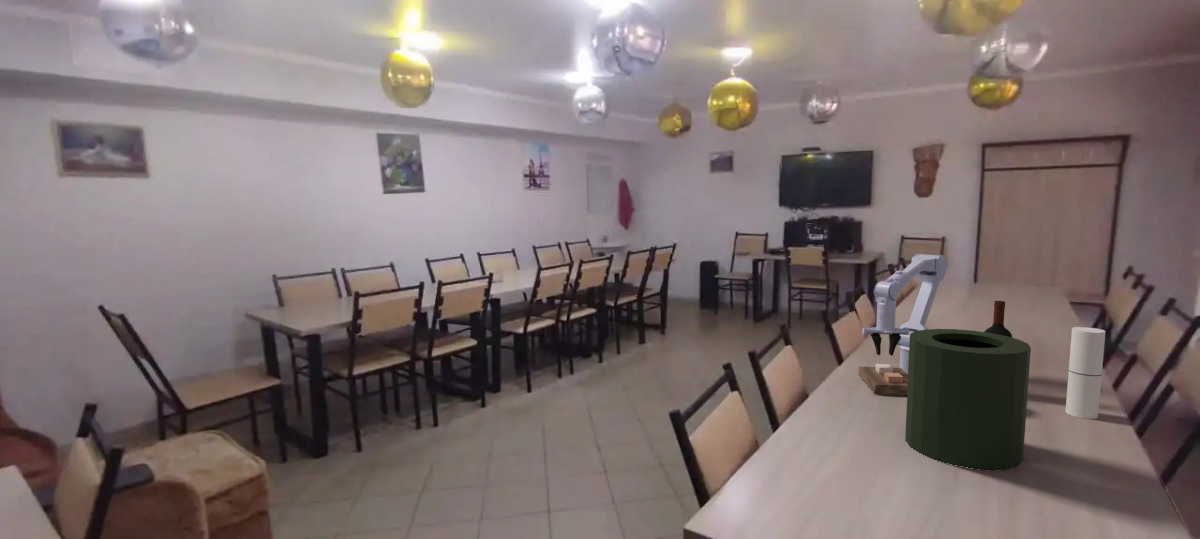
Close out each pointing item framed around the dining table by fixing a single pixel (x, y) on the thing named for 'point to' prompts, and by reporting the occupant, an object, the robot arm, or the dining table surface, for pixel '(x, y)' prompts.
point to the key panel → (883, 381)
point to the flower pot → (967, 397)
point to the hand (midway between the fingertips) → (884, 354)
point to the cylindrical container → (1085, 372)
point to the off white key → (883, 368)
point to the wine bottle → (999, 320)
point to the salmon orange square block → (893, 377)
